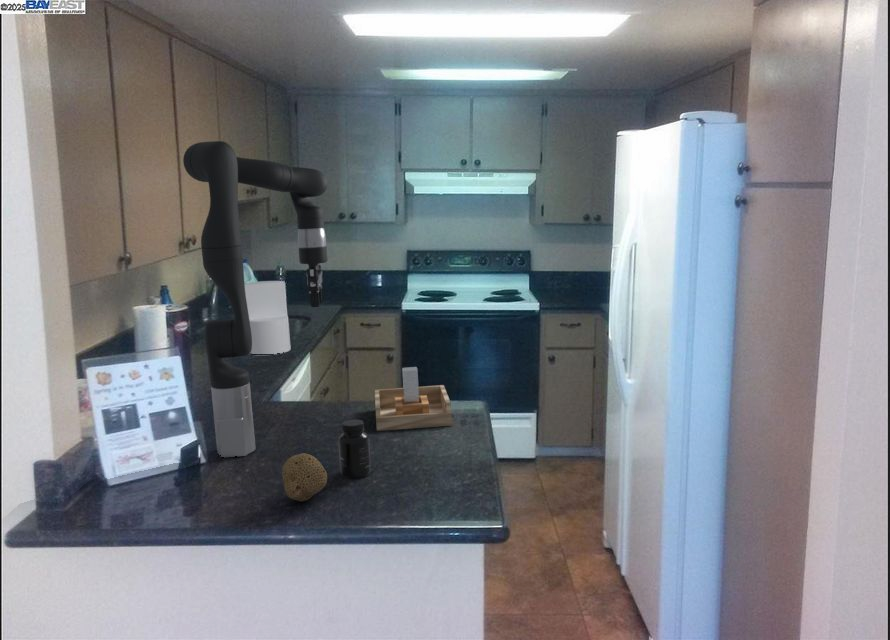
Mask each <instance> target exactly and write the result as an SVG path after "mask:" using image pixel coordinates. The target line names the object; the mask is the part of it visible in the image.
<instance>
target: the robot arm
mask: <svg viewBox="0 0 890 640" xmlns="http://www.w3.org/2000/svg"><path fill="white" fill-rule="evenodd" d="M182 160H183V161H182V162H183V167H184V169H185V171H186V173H187V175H189V177H190V178H191V179H194V180H196V181H199V182H203V183H208V187H209V202H210V203H209V210H208V214H207V216H206V220H205V222H204V225H203V229H202V233H201V237H200V245H201V246H200V247H201V257H202V264H203V268H204V270H205V272H206V274H207V276H208V277H209V278H210V280H211V281H212V282H213V283H214V284H215V286H216V287H217V288H218V289H219V290H220V292H221V293H222V294H223V295H224V297H225V299H226V300H227V302H228V303H229V305H230V307H231V309H232V313H233V315H234V319H233V318H231V319H216V320H209V321H207V322H206V323H205V327H204V333H203V335H204V337H203V338H204V346H205V350H206V352H205V353H206V358H207V363H208V371H209V373H208V374H209V381H210V391H211V400H212V401H211V402H212V412H213V422H214V431H215V442H216V450H217V454H219V455H218V456H220V455H221V456H220V458H221V457H224V458H234V457H235V456H237V457H246V456H248V455H249V454H251V453H253V452H254V451H256V438H255V436H256V435H255V428H254V427H255V425H254V415H253V406H252V397H251V396H252V395H251V394H252V393H251V384H250V383H251V381H250V374H249V372H248V371H247V370H246V369H244V368H241V367H237V366H234V365H231V364H229V363H228V362H226V361H225V360H224V359H225V358H237V357H245V356H249V355H250V352H251V350H252V334H251V327H250V320H249V314H248V308H247V301H246V294H245V284H246V283H245V274H244V273H245V272H244V271H245V270H244V258H243V257H244V255H243V246H242V239H241V231H240V229H241V228H240V215H239V189H238V188H239V184H244V185H247V186H252V187H257V188H262V189H265V190H271V191H276V192H281V193H289V195H290V199H291V201H292V204H293V207H294V210H295V212H296V220H297V244H298V245H297V249H298V260H299V263H300V265H301V264H302V265H307V266H308V268H307V269H306V272H305V275H306V277H307V278H306V279H307V281H306V282H307V287H308V288H307V290H308V292H309V297H310V307H311V308H319V307H320V304H322V303H323V298H322V297H323V295H322V289H323V268H322V266H321V264H325V263H327V262H328V246H327V236H326V232H325V231H326V230H325V221H324V220H325V219H324V211H323V208H321V207H320V206H317V205H315V204H314V202H313V200H312V198H313V197H319V196H322V195H323V194H325V192H326V191H327V189H328V185H329V184H328V179H327V177H326V175H325V174H324V173H323V172H322V171H320V170H318V169H315V168H309V167H299V166H291V165H287V164H284V163H280V162H277V161H271V160H265V159H258V158H257V159H256V158H255V159H254V158H245V157H240V156H237V155H236V152H235V150H234V148H233V147H232V146H231V144H229V143H228V142H226V141H222V140H221V141H220V140H214V141H212V140H211V141H201V142H200V141H199V142H196V143H193V144H192V145H190V146H189V147H188V148H186V150H185V152H184V154H183V158H182Z"/></svg>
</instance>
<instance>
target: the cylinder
mask: <svg viewBox="0 0 890 640" xmlns="http://www.w3.org/2000/svg"><path fill="white" fill-rule="evenodd" d="M244 284H245V294H246V301H247V308H248V314H249V320H250V327H251V334H252V350H251V352H250V353H252V354H274V355H278V354H277V353H280V354H283V352H284V353H287V352H290V351H291V348H292V347H291V336H290V323H289V316H288V308H287V307H288V304H287V296H286V295H287V294H286V282H285V281H284V280H262V281H253V282H248V283H244Z"/></svg>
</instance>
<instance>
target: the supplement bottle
mask: <svg viewBox="0 0 890 640" xmlns="http://www.w3.org/2000/svg"><path fill="white" fill-rule="evenodd" d="M341 431H342V434H340V436H339V437H338V454H339V455H338V456H339V470H340V475H341V476H342V477H343V478H344V479H351V480H355V479H356V480H357V479H362V478H365V477H367V476H369V475H370V473H371V470H372V468H371V467H372V465H371V450H370V449H371V448H370V437H369V434H368V433H367V432H365V425H364V421H363V420H361V419H350V420H345V421H343V422H342V423H341Z"/></svg>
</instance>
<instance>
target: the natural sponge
mask: <svg viewBox="0 0 890 640" xmlns="http://www.w3.org/2000/svg"><path fill="white" fill-rule="evenodd" d="M281 475H282V482H283V488H284V492H285V494H286V495H287V497H288V498H289V499H291V500H296V501H298V502H306V501H308V500H310V499H311V498H312V497H313V496H314V495H315V494H317V493H319V492H320V491H322V490H323V489H324V488H325V486H326V485H327V482H328V473H327V471H326V469H325V468H324V466H323V465H322V463H321V462H320V460H318V458H316V457H315V456H314V455H311V454H309V453H305V452H302V453H299V454H296V455H292V456H290V458H288V459H287V460H286V461H285V462H284V464H283V466H282V468H281Z"/></svg>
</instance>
